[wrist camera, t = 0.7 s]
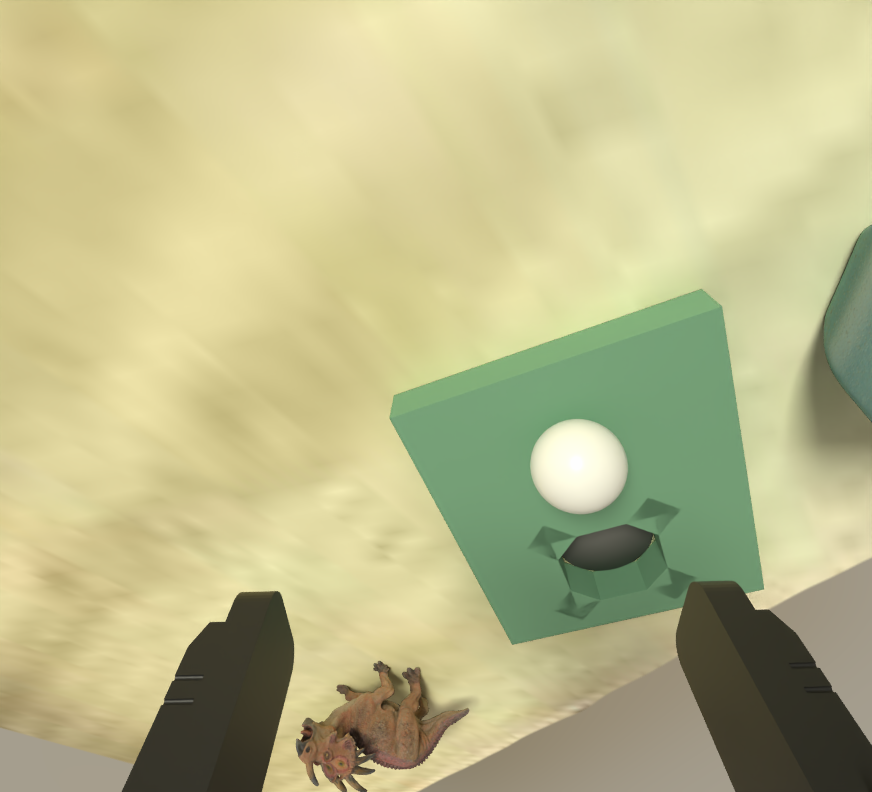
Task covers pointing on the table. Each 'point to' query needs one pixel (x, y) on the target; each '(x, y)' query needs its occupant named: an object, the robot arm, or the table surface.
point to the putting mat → (646, 480)
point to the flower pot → (853, 326)
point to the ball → (579, 466)
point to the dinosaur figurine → (373, 732)
